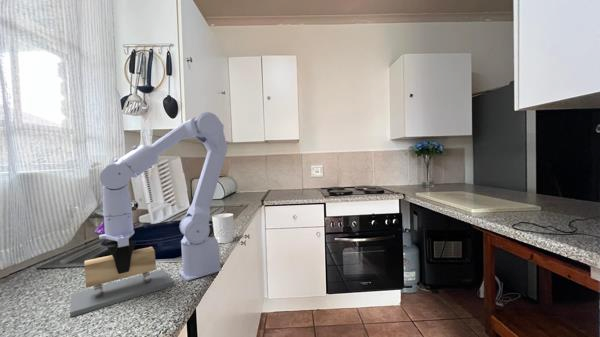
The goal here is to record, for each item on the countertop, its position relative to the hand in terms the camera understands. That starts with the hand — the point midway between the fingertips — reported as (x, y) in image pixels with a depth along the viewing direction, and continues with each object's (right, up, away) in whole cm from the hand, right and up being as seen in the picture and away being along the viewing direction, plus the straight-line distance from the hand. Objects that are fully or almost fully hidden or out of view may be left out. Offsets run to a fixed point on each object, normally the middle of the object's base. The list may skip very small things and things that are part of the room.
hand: (122, 269), depth 67 cm
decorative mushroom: (-22, -6, +31) cm, 38 cm away
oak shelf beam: (0, -1, 0) cm, 1 cm away
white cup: (+14, -4, +39) cm, 41 cm away
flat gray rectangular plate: (0, -5, 0) cm, 5 cm away
